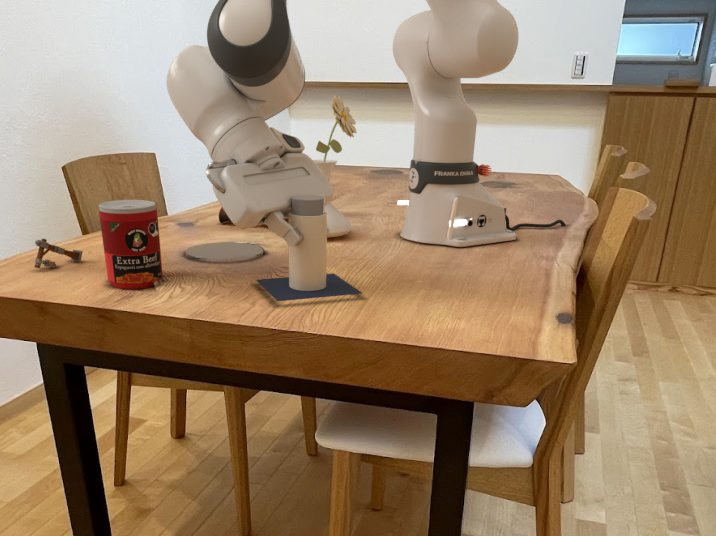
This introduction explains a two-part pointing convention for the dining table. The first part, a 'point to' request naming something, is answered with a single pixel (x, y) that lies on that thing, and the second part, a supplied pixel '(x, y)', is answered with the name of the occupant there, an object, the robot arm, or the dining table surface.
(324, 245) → the shaker
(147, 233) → the canned food
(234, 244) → the coaster
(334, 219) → the flower in vase
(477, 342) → the dining table surface
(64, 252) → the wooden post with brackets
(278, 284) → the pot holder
